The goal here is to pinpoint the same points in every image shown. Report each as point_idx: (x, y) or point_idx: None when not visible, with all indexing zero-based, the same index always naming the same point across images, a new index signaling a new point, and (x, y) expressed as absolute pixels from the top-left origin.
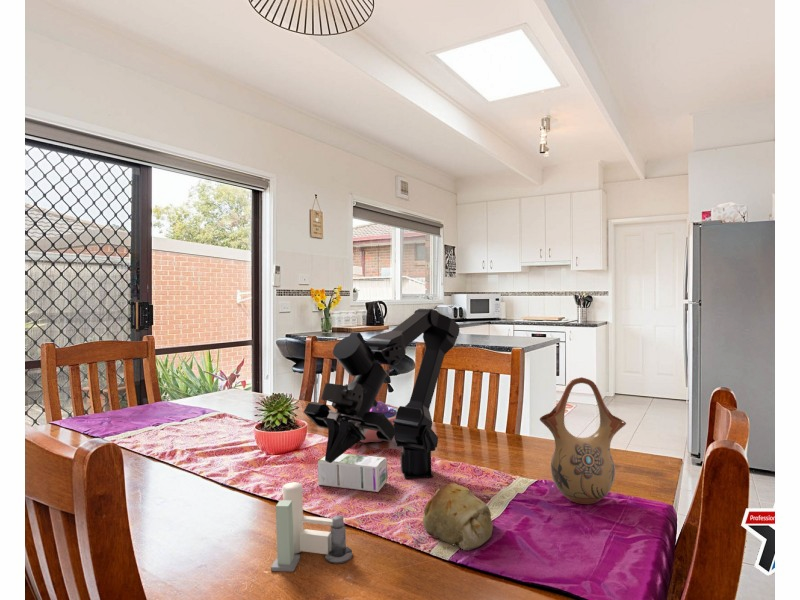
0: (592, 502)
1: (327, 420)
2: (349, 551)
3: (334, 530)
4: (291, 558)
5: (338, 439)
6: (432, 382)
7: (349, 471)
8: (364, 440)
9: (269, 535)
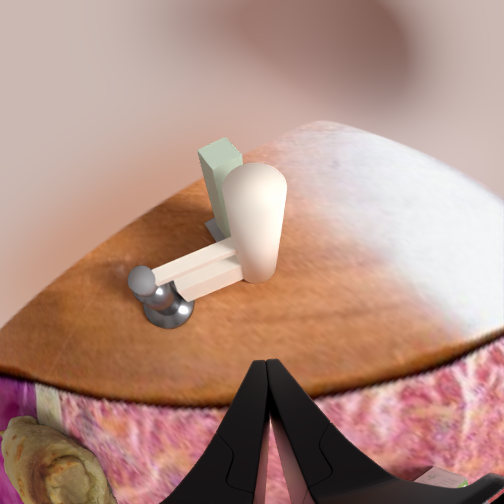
0: None
1: (449, 500)
2: (154, 318)
3: None
4: (220, 229)
5: (228, 455)
6: None
7: None
8: None
9: (343, 272)
